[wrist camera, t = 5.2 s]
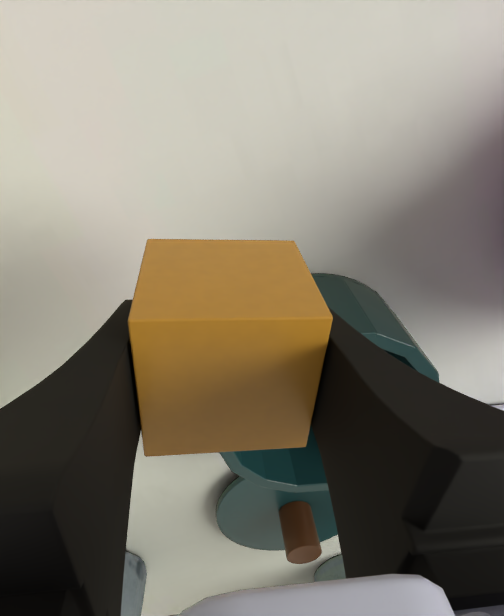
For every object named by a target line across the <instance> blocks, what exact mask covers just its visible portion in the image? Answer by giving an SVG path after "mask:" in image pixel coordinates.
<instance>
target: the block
mask: <svg viewBox="0 0 504 616" xmlns="http://www.w3.org/2000/svg"><path fill="white" fill-rule="evenodd" d="M332 320H333V317H332V315H331V313H330V311H329V309H328V307H327V305H326V303H325V301H324V299H323V297H322V295H321V293H320V291H319V289H318V287H317V285H316V283H315V281H314V279H313V277H312V275H311V273H310V271H309V269H308V267H307V265H306V263H305V261H304V259H303V257H302V255H301V253H300V251H299V249H298V248H297V246H296V244H295V242H294V241H277V240H189V239H148V240H147V243H146V247H145V251H144V255H143V259H142V264H141V268H140V272H139V276H138V280H137V284H136V288H135V293H134V297H133V301H132V305H131V309H130V313H129V317H128V328H129V336H130V344H131V352H132V360H133V368H134V376H135V384H136V392H137V400H138V408H139V416H140V424H141V432H142V439H143V447H144V455H145V456H146V457H147V456H164V455H181V454H198V453H214V452H231V451H248V450H265V449H282V448H299V447H306V445H307V440H308V435H309V430H310V425H311V421H312V416H313V411H314V406H315V401H316V397H317V392H318V387H319V382H320V377H321V373H322V368H323V363H324V358H325V353H326V349H327V344H328V339H329V334H330V330H331V325H332Z"/></svg>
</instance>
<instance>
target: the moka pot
mask: <svg viewBox="0 0 504 616" xmlns="http://www.w3.org/2000/svg"><path fill="white" fill-rule="evenodd" d="M146 575H147V573H146V566H145V564H144V562H143V561H142V559H141V558H139V557H138V556H136V555H134V554H131V553H129V552H126V553H125V565H124V577H123V590H122V604H121V616H141V610H142V604H143V598H144V591H145V583H146Z"/></svg>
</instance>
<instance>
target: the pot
mask: <svg viewBox="0 0 504 616" xmlns="http://www.w3.org/2000/svg"><path fill="white" fill-rule="evenodd" d="M311 275H312V277H313V279H314V281H315V283H316V285H317V287H318V289H319V291H320V293H321V295H322V297H323V299H324V301H325V303H326V305H327V306H328V307H329V308H331V309H332V310H333V311H334V312H335V313H336V314H338V315H339V316H340V317H341V318H342V319H344V320H345V321H346V322H347V323H348V324H350V325H351V326H352V327H353V328H355V329H356V330H357V331H358V332H360V333H361V334H362V335H363V336H365V337H366V338H367V339H369V340H370V341H371V342H373V343H374V344H376V345H377V346H378V347H380V348H381V349H383V350H384V351H385V352H387V353H388V354H390V355H391V356H393V357H394V358H396V359H398V360H399V361H401V362H403V363H404V364H406V365H408V366H409V367H411V368H413V369H414V370H416V371H418V372H419V373H421V374H423V375H425V376H427V377H429V378H431V379H433V380H435V381H437V382H439V374H438V371H437V370H436V369H435V367H434V366H433V364H432V363H431V362H430V360H429V359H428V358H427V356H426V355H425V354H424V352H423V351H422V350H421V348H420V347H419V346H418V344H417V343H416V342H415V340H414V339H413V338H412V336H411V335H410V334H409V332H408V331H407V330H406V328H405V327H404V326H403V324H402V323H401V321H400V320H399V319H398V317H397V316H396V315H395V314H394V312H393V311H392V310H391V309H390V308H389V306H388V305H387V304H386V303H385V301H384V300H383V299H382V298H381V297H380V296H379V295H378V293H377V292H376V291H374V290H372V289H371V288H369V287H368V286H366V285H364V284H362V283H360V282H358V281H356V280H353V279H350V278H347V277H344V276H339V275H333V274H319V273H318V274H311ZM219 453H220V454H221V456H222V457H223V459H224V461H225V462H226V464H227V465H228V467H229V468H230V470H231V471H232V472H234V473H236V474H237V475H239V476H241V477H243V478H244V479H246V480H248V481H250V482H251V483H253V484H255V485H257V486H260V487H264V488H270V489H275V490H281V491H286V492H292V493H293V492H294V493H298V492H311V491H324V490H329V488H328V484H327V480H326V475H325V471H324V467H323V462H322V458H321V454H320V451H319V447H318V444H317V441H316V438H315V435H314V432H313V429H312V426H311V425H310V430H309V435H308V440H307V445H306V447H299V448H282V449H265V450H248V451H231V452H219Z"/></svg>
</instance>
